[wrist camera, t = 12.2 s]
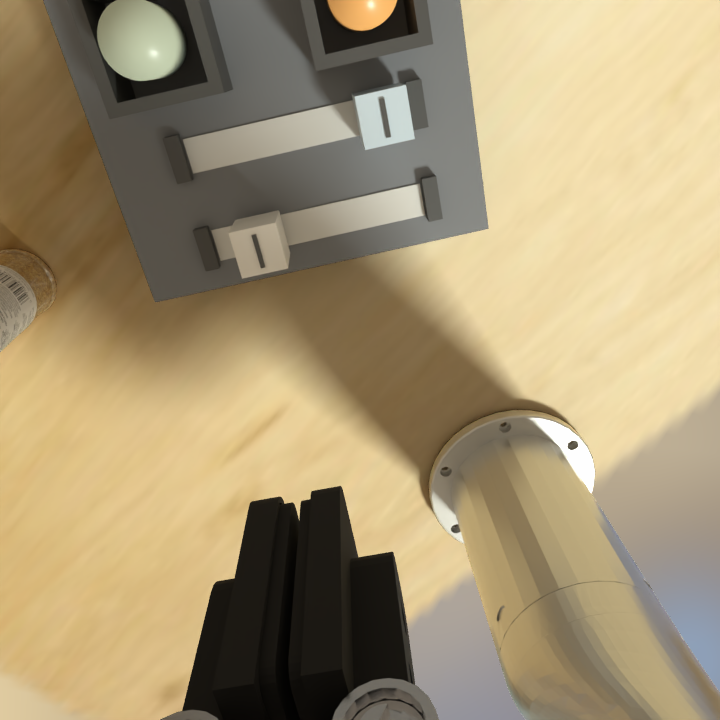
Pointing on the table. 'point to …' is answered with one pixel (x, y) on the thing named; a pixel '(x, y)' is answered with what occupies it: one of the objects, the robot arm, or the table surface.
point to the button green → (141, 39)
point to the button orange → (360, 13)
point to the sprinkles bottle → (22, 292)
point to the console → (280, 134)
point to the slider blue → (383, 115)
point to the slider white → (260, 244)
